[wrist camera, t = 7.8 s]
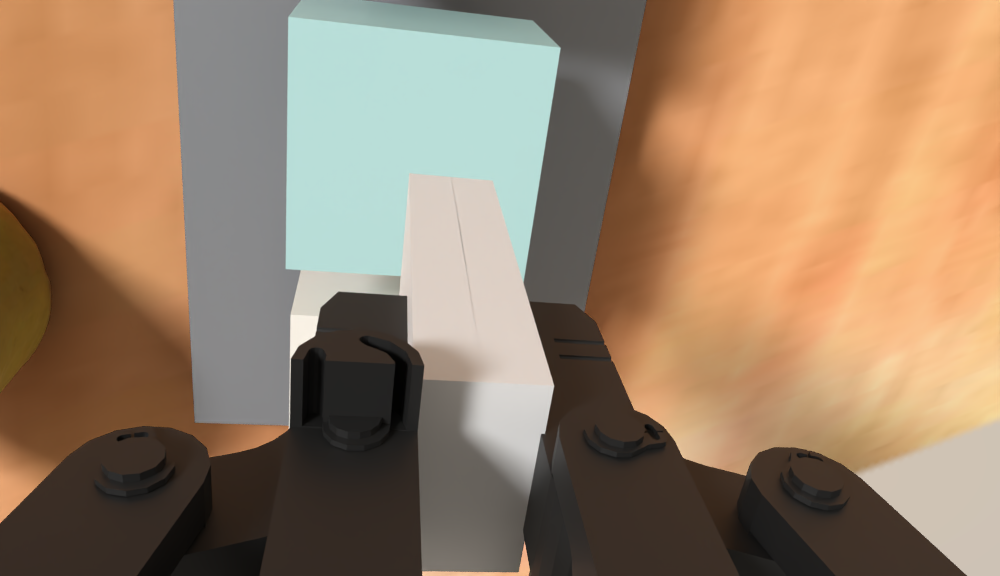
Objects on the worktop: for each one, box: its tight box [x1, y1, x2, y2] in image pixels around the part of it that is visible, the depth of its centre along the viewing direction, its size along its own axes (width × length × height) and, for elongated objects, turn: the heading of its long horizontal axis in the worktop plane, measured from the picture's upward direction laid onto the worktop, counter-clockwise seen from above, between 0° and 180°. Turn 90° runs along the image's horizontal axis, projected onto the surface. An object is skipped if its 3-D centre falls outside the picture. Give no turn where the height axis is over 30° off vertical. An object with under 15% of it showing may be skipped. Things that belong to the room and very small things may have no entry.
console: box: [173, 0, 647, 425], centre depth 24 cm, size 14×26×5 cm, turn 173°
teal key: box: [286, 0, 561, 283], centre depth 21 cm, size 6×6×4 cm
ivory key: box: [289, 270, 401, 428], centre depth 25 cm, size 6×6×4 cm
